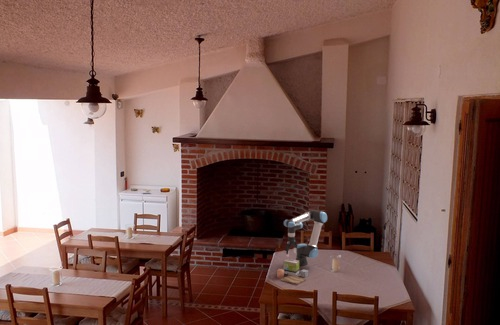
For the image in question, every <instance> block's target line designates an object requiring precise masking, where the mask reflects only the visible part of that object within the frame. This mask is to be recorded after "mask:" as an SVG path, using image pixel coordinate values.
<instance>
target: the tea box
mask: <svg viewBox="0 0 500 325" xmlns="http://www.w3.org/2000/svg"><path fill="white" fill-rule="evenodd" d="M283 270H284V275H287V276H289V275H293V276H296V277H298V275H299V274H300V265H299V261H298V260H296V259H291V258H286V259H284V260H283Z"/></svg>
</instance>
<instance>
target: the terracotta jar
mask: <svg viewBox="0 0 500 325" xmlns="http://www.w3.org/2000/svg"><path fill="white" fill-rule="evenodd" d="M276 275H277V278H278V279H280V280H281V279H283V278H285V274H284V270H283V269H282V268H278V269H277V270H276Z"/></svg>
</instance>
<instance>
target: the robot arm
mask: <svg viewBox="0 0 500 325" xmlns="http://www.w3.org/2000/svg"><path fill="white" fill-rule="evenodd" d="M310 220H311V221H313V223H314V224H313V227H312V228H313V229H312V232H311V236H310V239H309V243H308V244H307V243H297V239H296V237H295V236H296V231H297V230H300V229H302V228H303V227H304V224H303V222H305V221H310ZM326 222H328V215H327V213H326V211H325V212H324V211H322V210H321V211H320V210H315V209H314V210H313V209H312V210H308V211H306V212H304V213H302V214H300V215H298V216H296V217H293V218H291V219H285V220H283V226H284V227H286V228H287V240H288V241H286V245H285V249H284V251H285V252H286V255H285V256H286V257H287V258H289V257H290V249H291V246H293V254H295V255H296V258H295V260H298V261H299V267H300V266H302V267H303V266H308V265H309V261H308V258H311V259H315V258H317V257H318V255H319V249H318V241H319V237H320V234H321V231H322V226H323V225H324V223H326Z"/></svg>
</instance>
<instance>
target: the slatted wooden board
mask: <svg viewBox="0 0 500 325" xmlns="http://www.w3.org/2000/svg"><path fill="white" fill-rule="evenodd" d="M306 280H307V279H306V278H304V277H301V276H300V277H299V276H293V275H287V276H284V278H282V279H280V282H281V281H282V282H285V283H287V284H288V283H289V284H292V285H294V286H295V285H296V286H299V285H301V284H302V283H304V282H306Z"/></svg>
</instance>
